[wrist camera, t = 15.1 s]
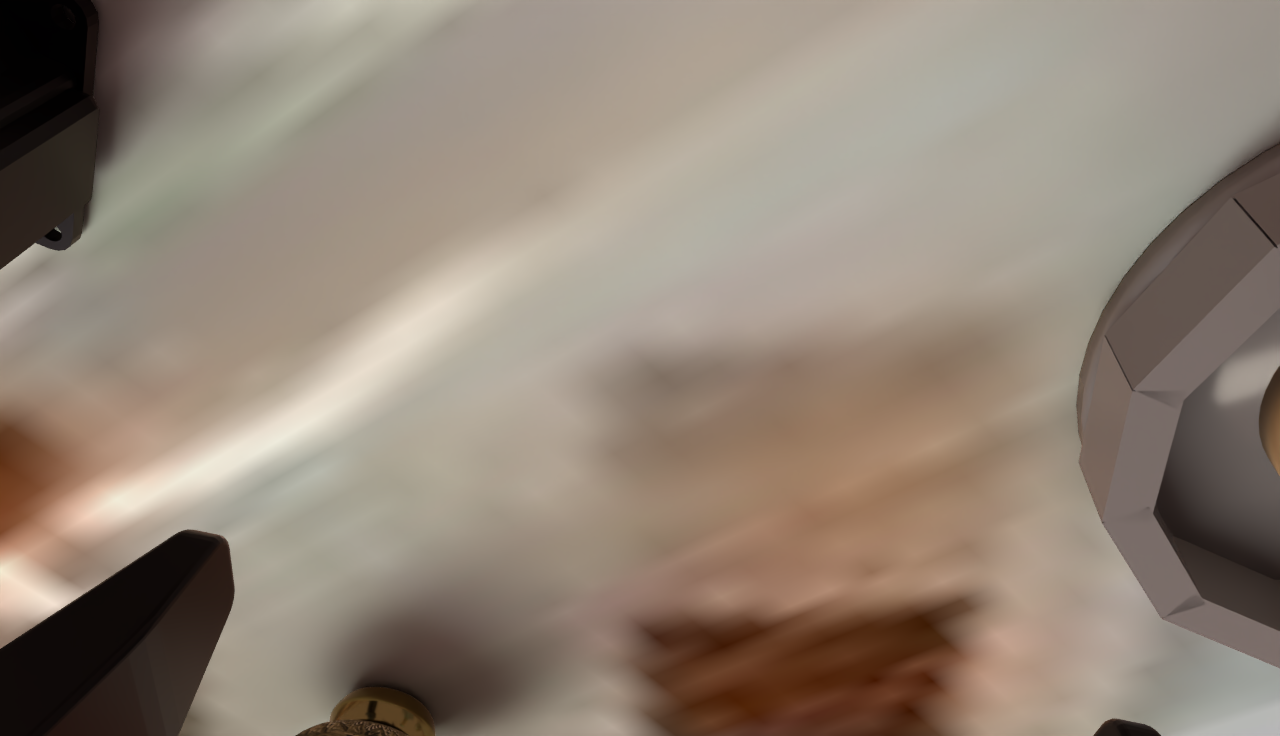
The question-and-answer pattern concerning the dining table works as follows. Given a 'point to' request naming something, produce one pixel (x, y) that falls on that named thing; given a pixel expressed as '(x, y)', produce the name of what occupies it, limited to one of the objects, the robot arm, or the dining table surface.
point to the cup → (376, 715)
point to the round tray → (1194, 414)
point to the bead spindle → (1271, 421)
